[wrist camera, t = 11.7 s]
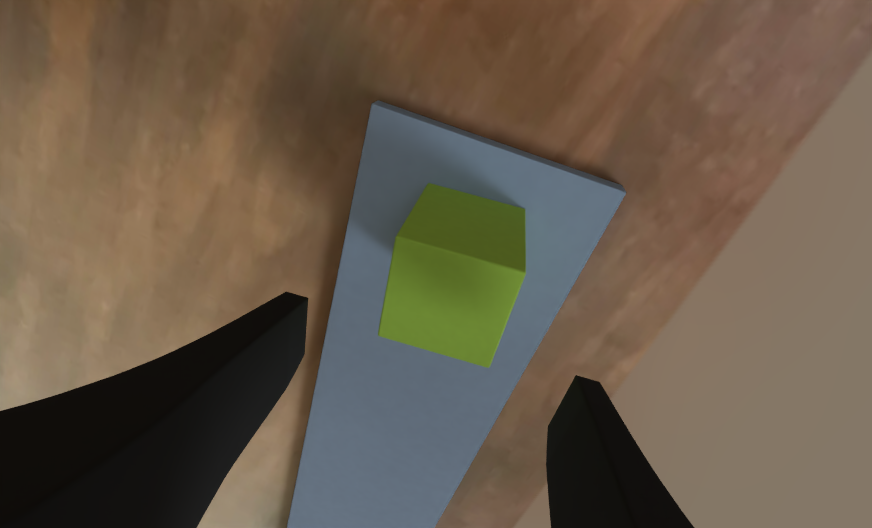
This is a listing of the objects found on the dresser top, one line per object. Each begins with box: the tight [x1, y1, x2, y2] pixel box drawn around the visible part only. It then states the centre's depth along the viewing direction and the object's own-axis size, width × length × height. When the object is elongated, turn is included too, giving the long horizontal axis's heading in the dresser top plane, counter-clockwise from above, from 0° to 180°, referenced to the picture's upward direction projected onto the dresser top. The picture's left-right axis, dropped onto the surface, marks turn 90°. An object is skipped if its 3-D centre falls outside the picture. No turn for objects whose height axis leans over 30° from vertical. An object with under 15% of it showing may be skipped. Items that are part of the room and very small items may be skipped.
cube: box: [378, 183, 526, 368], centre depth 16 cm, size 4×4×5 cm
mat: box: [287, 100, 626, 528], centre depth 25 cm, size 36×10×1 cm, turn 163°
